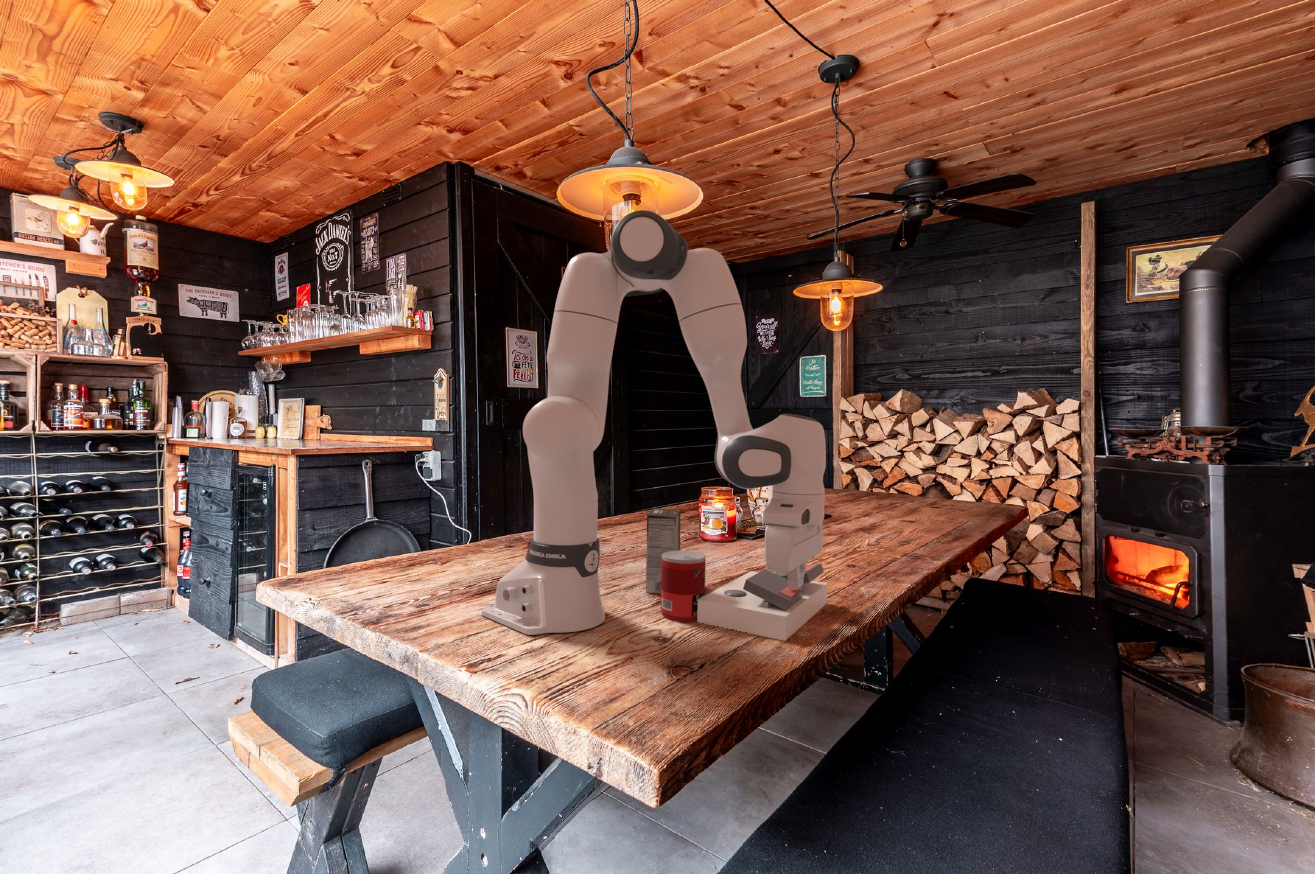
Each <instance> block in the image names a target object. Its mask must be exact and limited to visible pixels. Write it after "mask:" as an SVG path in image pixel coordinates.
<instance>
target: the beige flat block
mask: <svg viewBox="0 0 1315 874" xmlns="http://www.w3.org/2000/svg"><path fill="white" fill-rule="evenodd" d="M759 572H760V571H752V570H751V571H749V572H747V573H744V574H743V575H741V576H739V577H737V578H736V579H734V580H732V581H730V582H728V583H726V584H724V585H722V586H721V587H719V588H717V589H715V590H713V591H711V592H709V593H707V594H705V596H704V597H702V598H700V599H698V612H697V620H696V621H697V623H699V624H703V623H704V625H709V626H713V625H714V626H713V627H717V626H719V627H718V628H722V627H723V629H727V628H728V630H731V629H734V630H733V631H736V630H737V632H740V631H741V632H742V633H745V632H747V633H746V634H750V635H753V636H754V635H755V636H760V637H764V638H768V639H769V638H770V639H774V640H779V641H782V642H786V641H787V640H788V639H789V638H790V637H791V636H792V635H794V634H795V633H796V632H797V631H799V629H800V628H801V627H803V626H804V625H805V624H806V623H807V622H808V621H809V620H810V619H811V618H813V616H815V615H816V614H817V613H818V612H819V611H820V610H822V608H824V606H826V605H827V604H828V582H822V581H816V580H813V581H811V582H810V583H804V584H803V587H805V588H806V589H805V592H804V594H803V597H802V598H801V599H799V600H798V601H797V602H796V603H794V604H793V605H792V606H790V607H789V608H788V609H787V610H784V609H782V608H780V607H778V606H776V605H774V604H772V603H770V602H768V601H766V600H764V599H762V598H760V597H758V596H756V595H754V594H752V593H750V592H748V591H746V590H744V589H743V587H744V584H745V581H746V579H748V578H750V577H752V576H754V575H755V574H757V573H759Z"/></svg>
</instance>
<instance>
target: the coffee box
mask: <svg viewBox="0 0 1315 874" xmlns="http://www.w3.org/2000/svg"><path fill="white" fill-rule="evenodd" d="M681 510H682V509H671V508H662V507H661V508H659V507H658V508H657V507H654V508H652V509H650V511H649V512H648V514H647V515H646V548H645V549H646V552H645V553H646V556H645V557H646V559H645V563H646V564H645V593H646V594H658V593H659V594H658V595H661V569H662V554H663V553H665V552H669V551H681Z"/></svg>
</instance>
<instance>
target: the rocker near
mask: <svg viewBox="0 0 1315 874" xmlns="http://www.w3.org/2000/svg"><path fill="white" fill-rule="evenodd" d="M758 572H759V573H757V574H755V575H754V576H752V577H750V578H748V579H746V581H745V584H744V587H743V589H744V590H746V591H748V592H750V593H752V594H754V595H756V596H758V597H760V598H762V599H764V600H766V601H768V602H770V603H772V604H774V605H776V606H778V607H780V608H782V609H784V610H787V609H788V608H789V607H790V606H792V605H793V604H794V603H796V602H797V601H798V600H799V599H801V598H802V597H803V594H804V592H805V589H806V588H805V587H803V586H801V587H800V588H799V589H797V590H792V589H789V588H788V579H786V578H783V577H781V576H779V575H777V574H775V572H773V571H769V570H768V569H767V568H763V570H760V571H758Z"/></svg>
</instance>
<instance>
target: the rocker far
mask: <svg viewBox="0 0 1315 874" xmlns="http://www.w3.org/2000/svg"><path fill="white" fill-rule="evenodd" d="M822 564H823V563H822V562H820V563H813V564H807V566H806V570H805V574H804V577H803V584H804V583H810V582H811V581H815V579H817V578H818V577H820V576H821V575H822V574H824V569H823V565H822ZM774 573H775V574H777V575H779V576H781V577H783V578H786V579H788V577H787V574H786V573H779V572H774Z"/></svg>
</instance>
